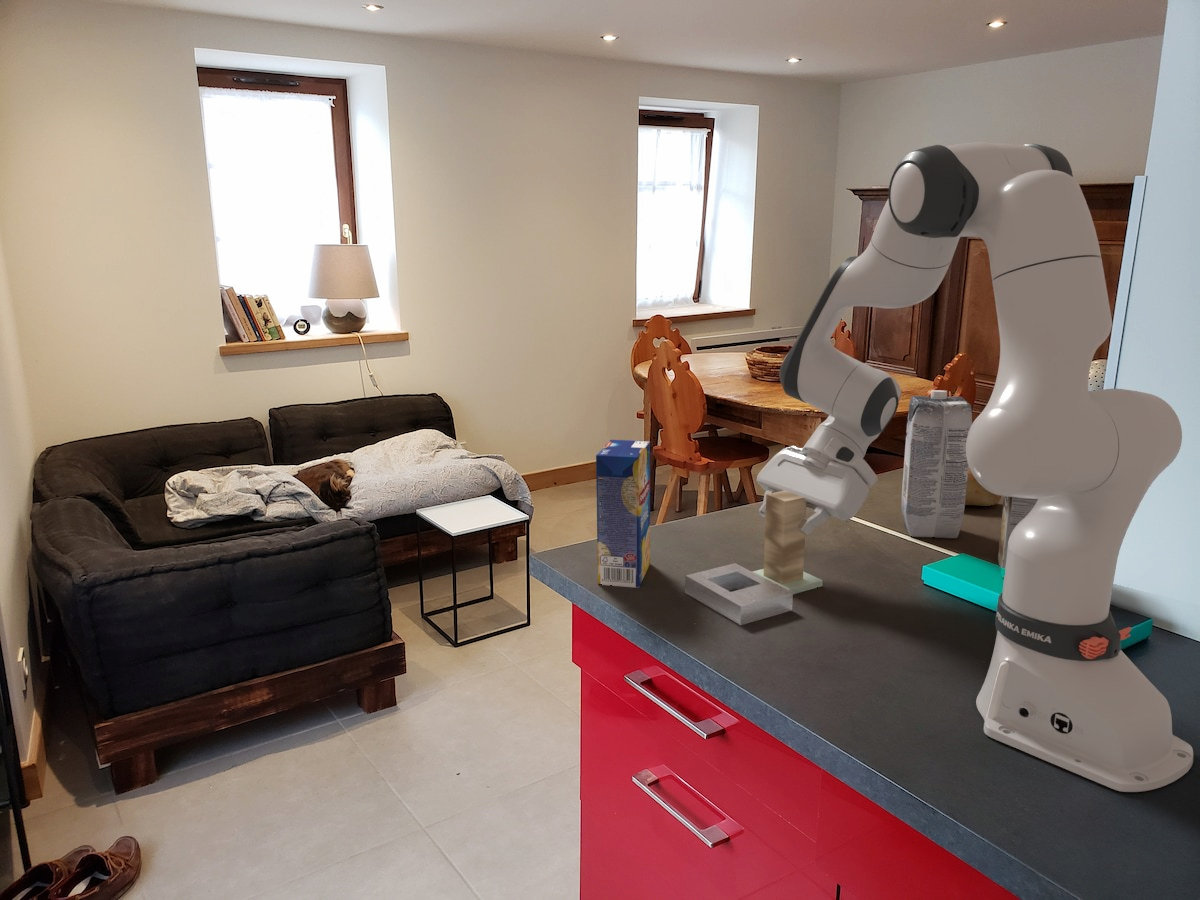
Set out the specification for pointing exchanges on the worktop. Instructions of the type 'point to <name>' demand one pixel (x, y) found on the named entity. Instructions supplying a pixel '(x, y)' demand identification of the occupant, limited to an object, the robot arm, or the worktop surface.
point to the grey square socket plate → (738, 593)
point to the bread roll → (978, 493)
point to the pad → (797, 582)
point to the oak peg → (784, 537)
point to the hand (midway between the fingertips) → (782, 523)
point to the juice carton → (935, 465)
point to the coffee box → (1012, 521)
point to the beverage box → (623, 512)
